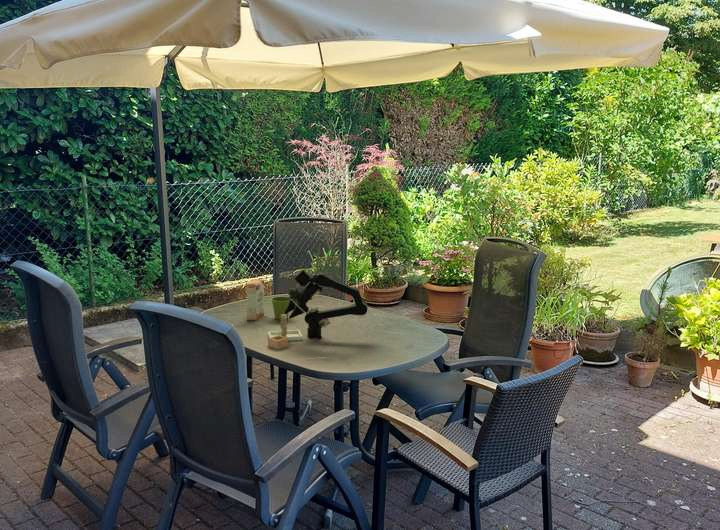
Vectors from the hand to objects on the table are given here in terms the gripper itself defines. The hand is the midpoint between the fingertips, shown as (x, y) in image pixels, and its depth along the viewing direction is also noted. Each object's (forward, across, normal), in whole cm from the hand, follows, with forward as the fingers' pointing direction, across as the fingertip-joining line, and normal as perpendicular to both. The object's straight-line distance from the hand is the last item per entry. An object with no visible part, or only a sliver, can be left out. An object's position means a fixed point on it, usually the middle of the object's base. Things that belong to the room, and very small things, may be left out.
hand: (287, 315), depth 307 cm
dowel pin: (+10, 0, +7) cm, 12 cm away
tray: (+9, -2, +8) cm, 13 cm away
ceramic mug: (-8, -24, +26) cm, 37 cm away
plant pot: (+4, -41, +14) cm, 43 cm away
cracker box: (+14, -47, +4) cm, 49 cm away
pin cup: (+14, +10, +4) cm, 17 cm away
